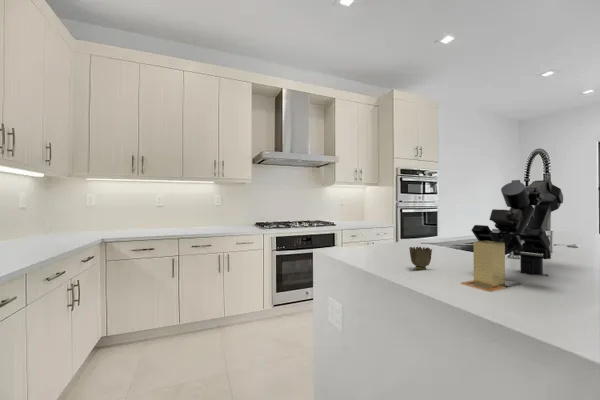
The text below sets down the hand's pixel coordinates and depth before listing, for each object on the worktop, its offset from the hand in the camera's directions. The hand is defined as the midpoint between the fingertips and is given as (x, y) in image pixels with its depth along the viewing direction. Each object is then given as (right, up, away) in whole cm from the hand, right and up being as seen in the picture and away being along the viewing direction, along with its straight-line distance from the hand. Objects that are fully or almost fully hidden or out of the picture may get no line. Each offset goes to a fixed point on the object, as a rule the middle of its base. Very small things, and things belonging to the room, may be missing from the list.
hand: (495, 257), depth 81 cm
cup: (-13, -9, +19) cm, 25 cm away
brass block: (-3, -7, -1) cm, 8 cm away
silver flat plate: (-2, -8, -1) cm, 9 cm away
